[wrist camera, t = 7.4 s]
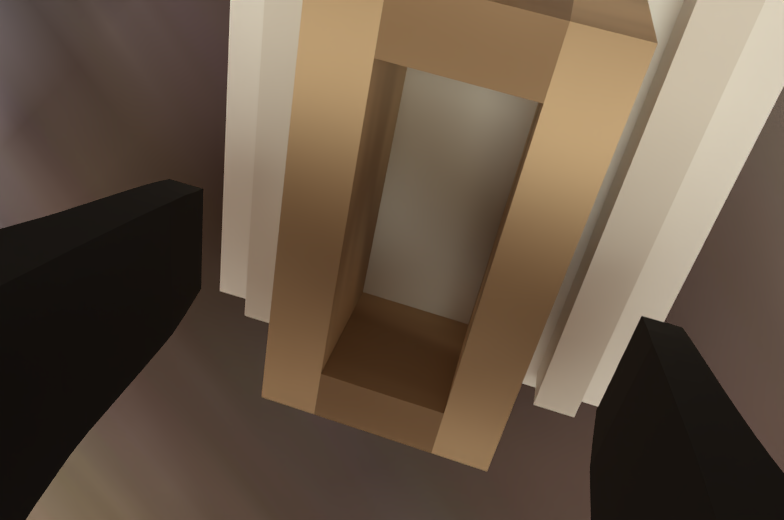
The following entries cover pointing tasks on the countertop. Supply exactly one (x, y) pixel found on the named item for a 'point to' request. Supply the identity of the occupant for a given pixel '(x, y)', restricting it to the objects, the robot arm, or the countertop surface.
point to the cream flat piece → (612, 205)
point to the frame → (439, 203)
